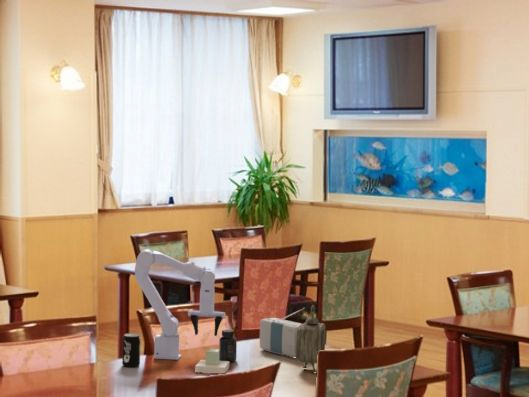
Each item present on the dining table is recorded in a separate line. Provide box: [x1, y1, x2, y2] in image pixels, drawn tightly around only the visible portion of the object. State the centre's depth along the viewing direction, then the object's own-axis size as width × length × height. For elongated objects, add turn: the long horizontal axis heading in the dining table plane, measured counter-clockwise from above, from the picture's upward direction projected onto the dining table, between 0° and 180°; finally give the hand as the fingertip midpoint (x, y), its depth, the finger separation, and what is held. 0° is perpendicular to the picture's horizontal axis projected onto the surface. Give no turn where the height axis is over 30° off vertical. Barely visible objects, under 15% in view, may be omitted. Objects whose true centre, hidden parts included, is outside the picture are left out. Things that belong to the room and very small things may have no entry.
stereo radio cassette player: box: [259, 307, 305, 358], centre depth 433 cm, size 21×8×20 cm, turn 42°
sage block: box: [204, 348, 219, 365], centre depth 400 cm, size 4×4×5 cm
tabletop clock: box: [295, 304, 326, 373], centre depth 405 cm, size 14×9×25 cm, turn 168°
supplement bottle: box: [218, 329, 238, 363], centre depth 417 cm, size 7×7×12 cm
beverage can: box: [121, 332, 141, 368], centre depth 403 cm, size 7×7×12 cm
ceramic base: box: [194, 359, 230, 374], centre depth 401 cm, size 11×11×3 cm
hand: (206, 334), depth 420 cm, fingers open, 7 cm apart
